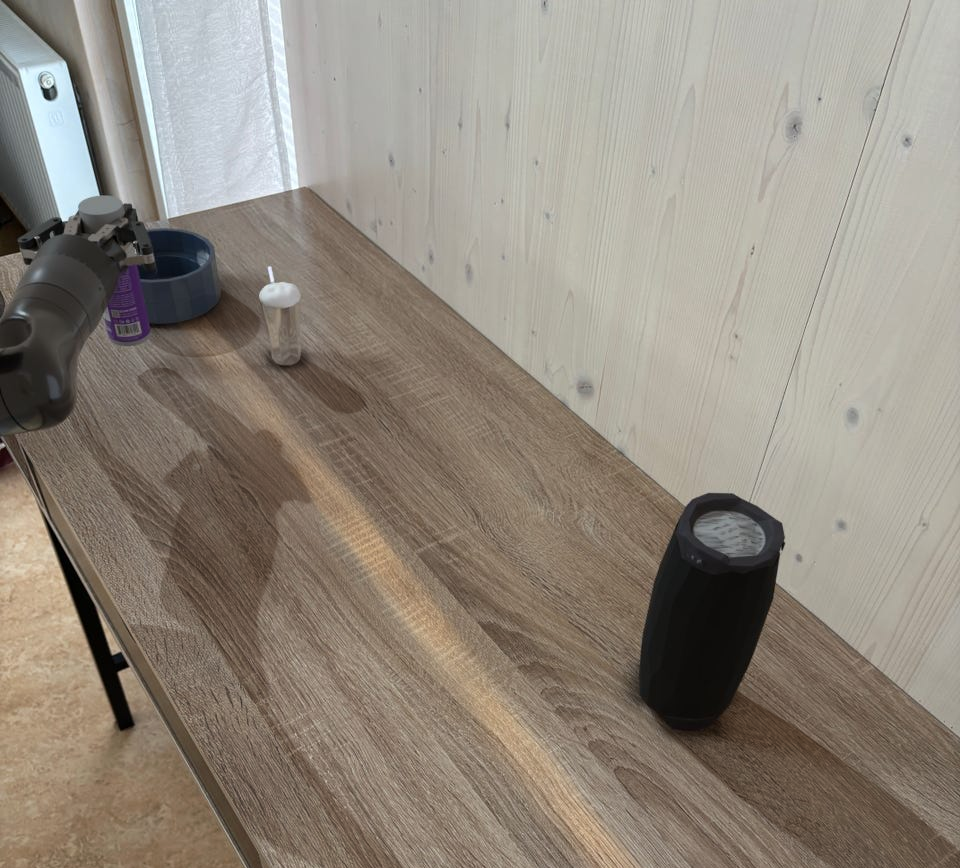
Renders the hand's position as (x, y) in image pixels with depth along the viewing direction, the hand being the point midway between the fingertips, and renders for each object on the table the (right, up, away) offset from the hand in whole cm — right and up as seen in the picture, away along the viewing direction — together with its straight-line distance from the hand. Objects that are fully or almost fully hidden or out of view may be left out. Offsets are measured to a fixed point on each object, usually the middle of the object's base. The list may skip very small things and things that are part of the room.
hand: (111, 211), depth 111 cm
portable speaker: (+57, -50, -20) cm, 79 cm away
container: (-1, -11, +8) cm, 14 cm away
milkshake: (+16, -12, +12) cm, 24 cm away
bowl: (0, -3, +19) cm, 20 cm away
